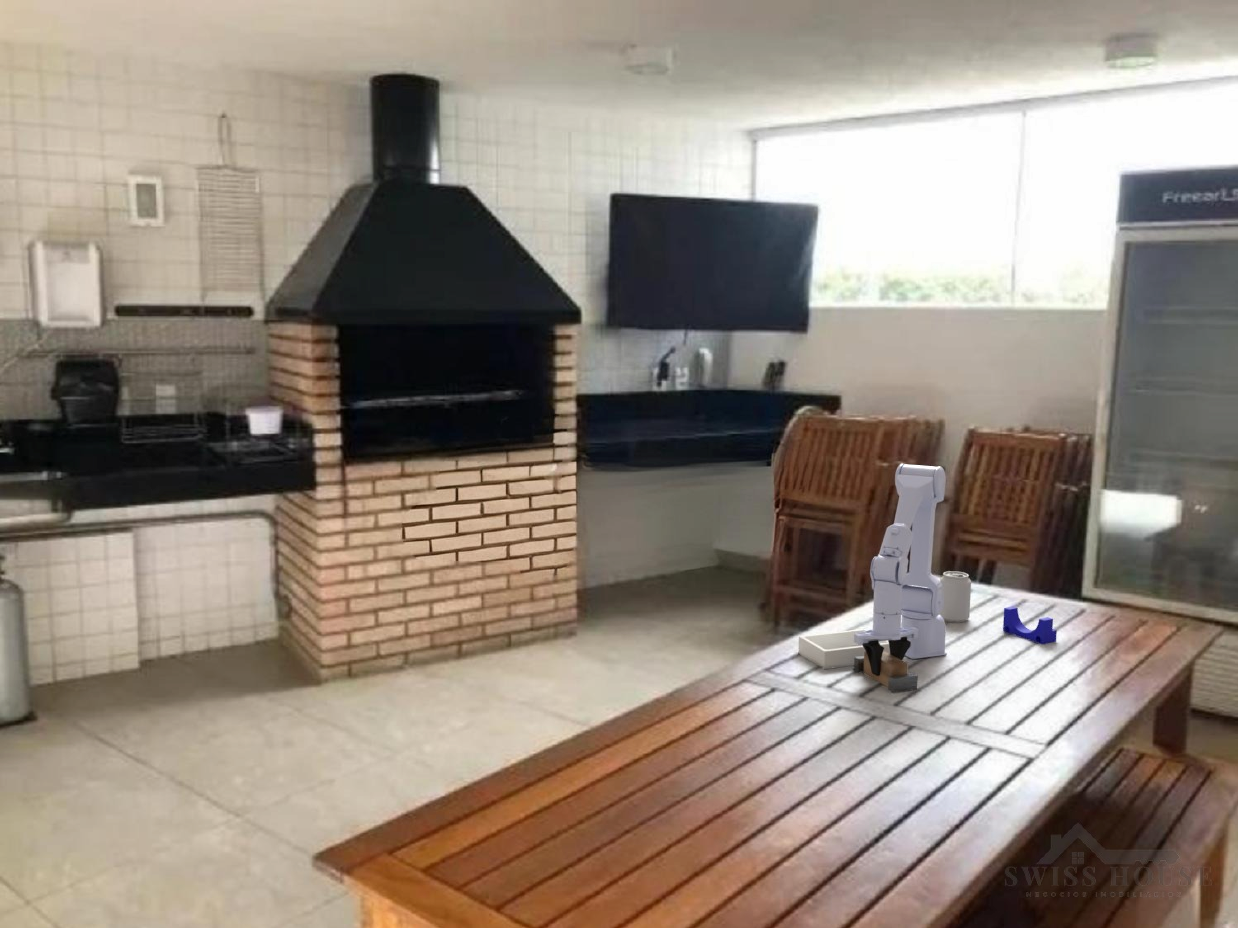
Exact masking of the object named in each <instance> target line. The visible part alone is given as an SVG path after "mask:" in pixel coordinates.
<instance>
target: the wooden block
mask: <svg viewBox="0 0 1238 928" xmlns="http://www.w3.org/2000/svg"><path fill="white" fill-rule="evenodd" d="M908 664H909V663H908V662H906V661H904V660H900V659H898V658H896V657H895V656H893V655H891V654H889V653H887V652H885V651H883V654H882V658H881V670H880V676H876V675H874V674H872V672H871V666H870V662H869V659H868V656H867V653H866V651H864V672H863V674H864V675H866V676H867V677H869V678H871V679H872V680H875V681H876V682H879V683H880V684H882V685H883V686H885V687H887V688H888V678H889V676H895V675H903V674H908V669H909V668H908V666H909V665H908Z"/></svg>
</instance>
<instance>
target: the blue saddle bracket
mask: <svg viewBox="0 0 1238 928" xmlns="http://www.w3.org/2000/svg"><path fill="white" fill-rule="evenodd" d="M1018 611H1019V609H1018V607H1015V606H1008V607H1004V608H1003V625H1002V632H1005V633H1008V634H1010V635H1013V636H1017V637H1020V638H1022V639H1026V640H1028V641H1030V642H1034V643H1037V644H1039V645H1047V644H1051V643H1056V642H1057V635H1058V634H1057V633H1058V632H1057V629H1054V628H1053V627H1054V618H1051V617H1048V616H1047V617H1042V618H1039V619H1038V623H1037V626H1036V628H1034V629H1033V630H1030V629H1029V628H1028V627H1026V626H1025V625H1024V623H1023V622H1022V620H1021V619H1020V616H1019V615H1020V614H1019V612H1018Z"/></svg>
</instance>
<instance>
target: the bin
mask: <svg viewBox="0 0 1238 928" xmlns="http://www.w3.org/2000/svg"><path fill="white" fill-rule="evenodd" d="M867 630H868V629H867V628H862V629H861V628H860V629H853V630H851V629H850V630H844V631H834V632H826V633H825V632H824V633H815V634H807V635H799V636H798V654H799V655H801V656H802V657H804V658H805V659H807V660H809V661H811V662H812V663H814V664H815V665H817V666H819V667H820V668H822V669H823V668H824V669H823V670H825V669H827V668H828V669H833V668H832V667H836V668H840V667H841V668H842V667H843V666H844V667H850V666H851V667H852V666H854V657H858V656H864V651H865V649H864V647H863V645H858V644H856V643H855V642H854V634H855V633H861V632H864V631H867ZM879 643H880V646H882V647H884V651H885V652H887V653H889V654H890V648H889V642H888V640H887V641H879ZM828 669H827V670H828Z"/></svg>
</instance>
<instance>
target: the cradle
mask: <svg viewBox="0 0 1238 928" xmlns="http://www.w3.org/2000/svg"><path fill="white" fill-rule="evenodd" d="M853 671H855V672H856V673H864V656H858V657H854V665H853ZM918 678H919V675H918V674H916V673H913V672H911V673H907V674H903V675H895V676H889V678H888V687H887V691H888V692H890V693H892V694H894V693H901V692H902V693H903V692H908V691H915V690H917V691H918V686H919V685H918V683H919V681H918V680H919V679H918Z"/></svg>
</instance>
